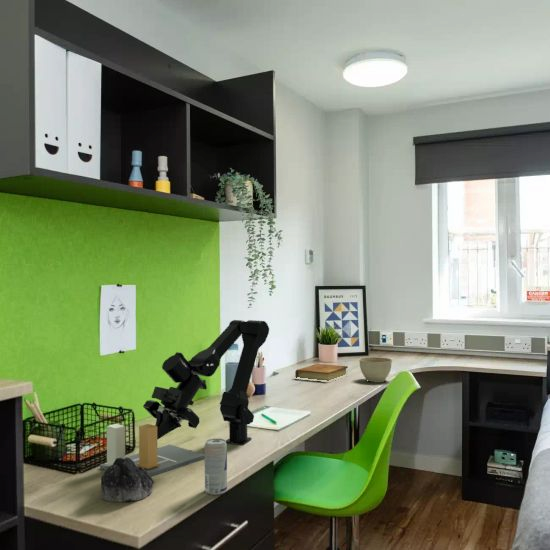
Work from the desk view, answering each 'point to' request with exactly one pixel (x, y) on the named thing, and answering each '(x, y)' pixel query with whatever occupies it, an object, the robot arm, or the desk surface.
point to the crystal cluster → (125, 482)
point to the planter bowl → (375, 368)
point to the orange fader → (148, 446)
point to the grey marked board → (167, 459)
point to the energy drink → (215, 466)
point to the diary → (321, 372)
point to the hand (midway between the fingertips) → (153, 439)
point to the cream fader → (115, 443)
